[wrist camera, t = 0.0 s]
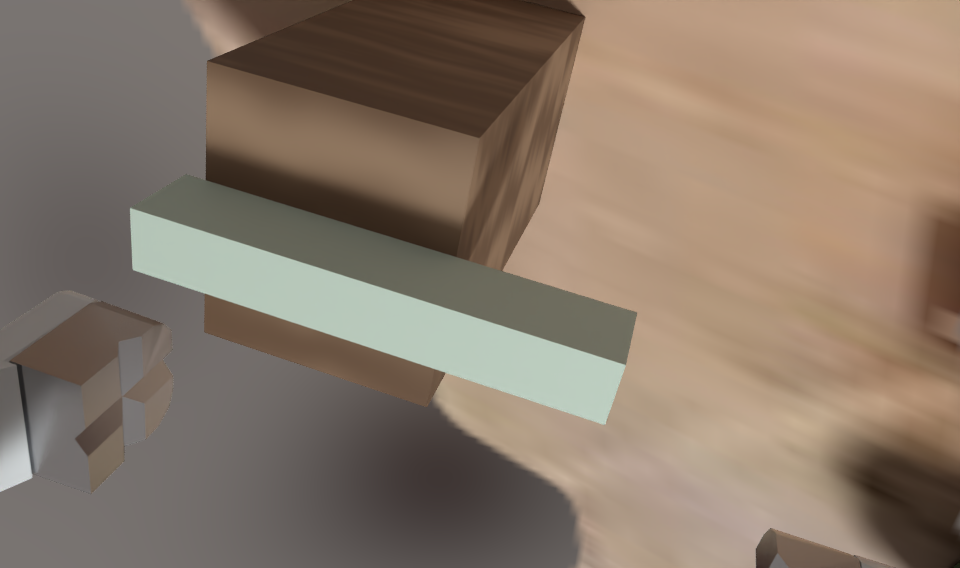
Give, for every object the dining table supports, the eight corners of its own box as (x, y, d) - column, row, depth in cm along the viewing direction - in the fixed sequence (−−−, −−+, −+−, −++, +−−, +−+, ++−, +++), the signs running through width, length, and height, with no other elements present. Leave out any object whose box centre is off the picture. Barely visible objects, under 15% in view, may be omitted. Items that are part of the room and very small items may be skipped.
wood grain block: (416, -27, 56) (207, 61, 34) (585, 17, 54) (479, 138, 32) (390, 160, 63) (204, 332, 41) (539, 203, 61) (426, 407, 39)
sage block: (186, 174, 37) (130, 208, 33) (637, 312, 34) (625, 365, 30) (186, 231, 38) (132, 269, 35) (617, 369, 35) (605, 425, 32)
